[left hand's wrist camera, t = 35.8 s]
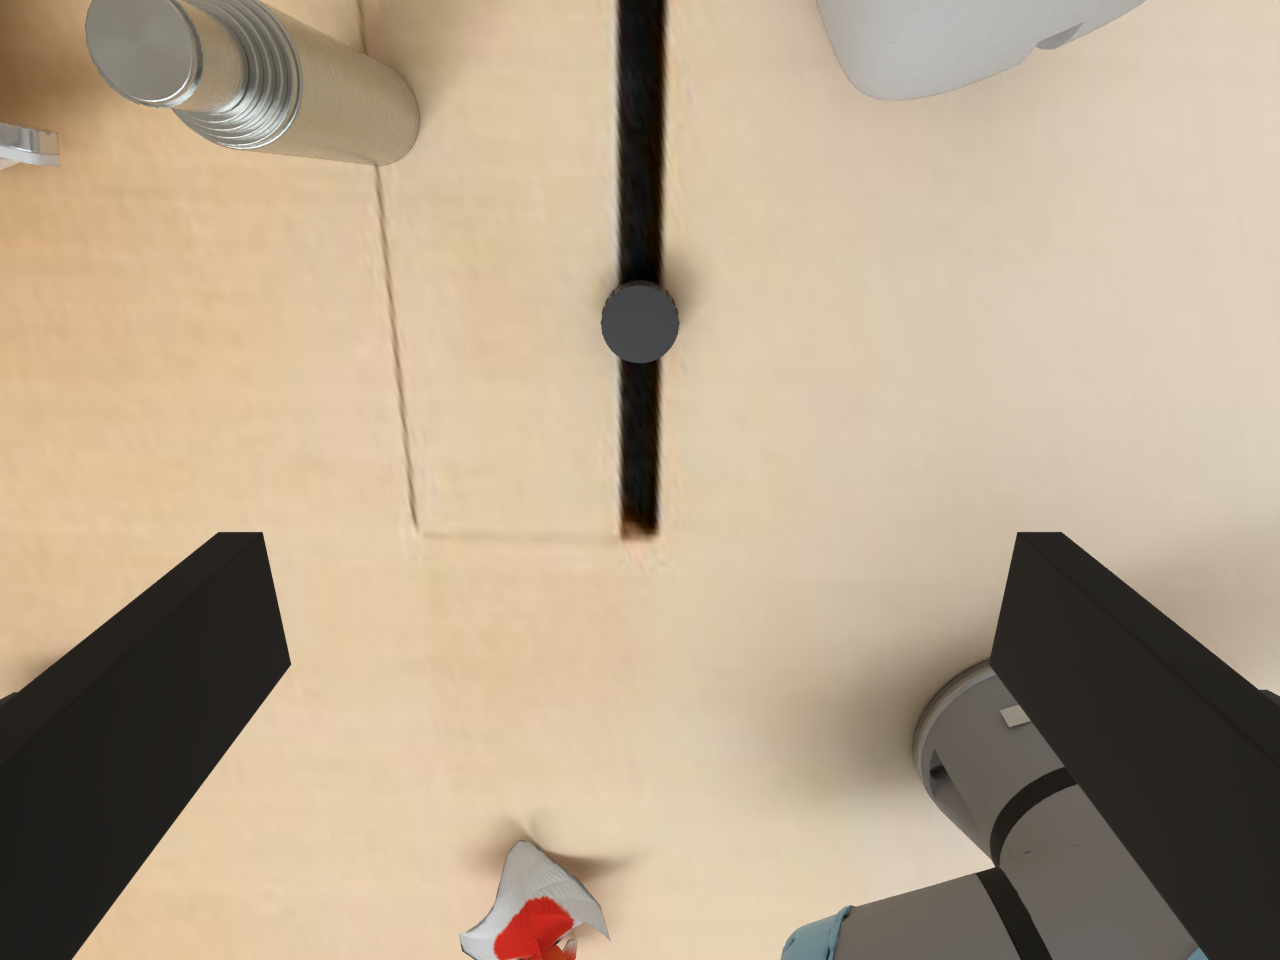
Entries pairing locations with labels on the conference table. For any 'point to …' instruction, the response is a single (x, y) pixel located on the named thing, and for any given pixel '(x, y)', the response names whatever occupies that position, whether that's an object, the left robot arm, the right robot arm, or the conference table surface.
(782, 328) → the conference table surface
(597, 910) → the fish
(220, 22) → the bottle
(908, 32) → the projector
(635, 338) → the cap
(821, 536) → the conference table surface
